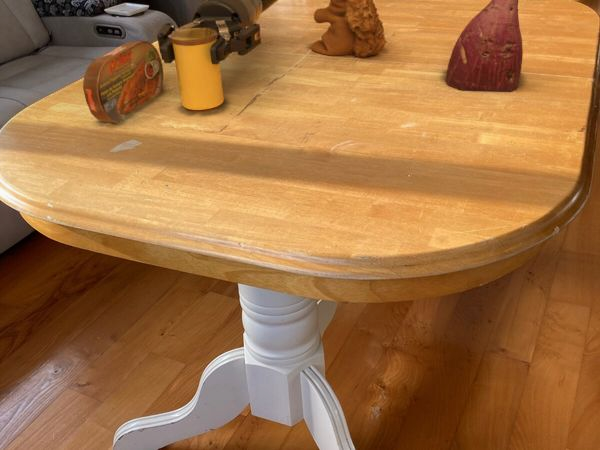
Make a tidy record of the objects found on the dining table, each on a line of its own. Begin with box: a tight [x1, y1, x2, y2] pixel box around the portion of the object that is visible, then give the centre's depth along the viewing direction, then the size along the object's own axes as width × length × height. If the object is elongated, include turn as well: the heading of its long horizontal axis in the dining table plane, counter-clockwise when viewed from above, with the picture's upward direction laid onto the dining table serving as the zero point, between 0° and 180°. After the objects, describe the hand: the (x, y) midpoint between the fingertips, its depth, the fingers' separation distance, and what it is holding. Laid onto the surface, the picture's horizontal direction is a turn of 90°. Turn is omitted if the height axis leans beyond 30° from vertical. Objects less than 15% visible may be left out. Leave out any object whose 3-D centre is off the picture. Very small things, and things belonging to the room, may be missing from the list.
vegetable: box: [445, 0, 524, 93], centre depth 82 cm, size 10×10×15 cm
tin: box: [82, 40, 164, 124], centre depth 78 cm, size 15×3×8 cm, turn 161°
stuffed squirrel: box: [310, 0, 388, 58], centre depth 95 cm, size 10×14×13 cm
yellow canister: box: [170, 28, 225, 111], centre depth 76 cm, size 6×6×9 cm
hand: (189, 56), depth 72 cm, fingers closed on yellow canister, 5 cm apart
